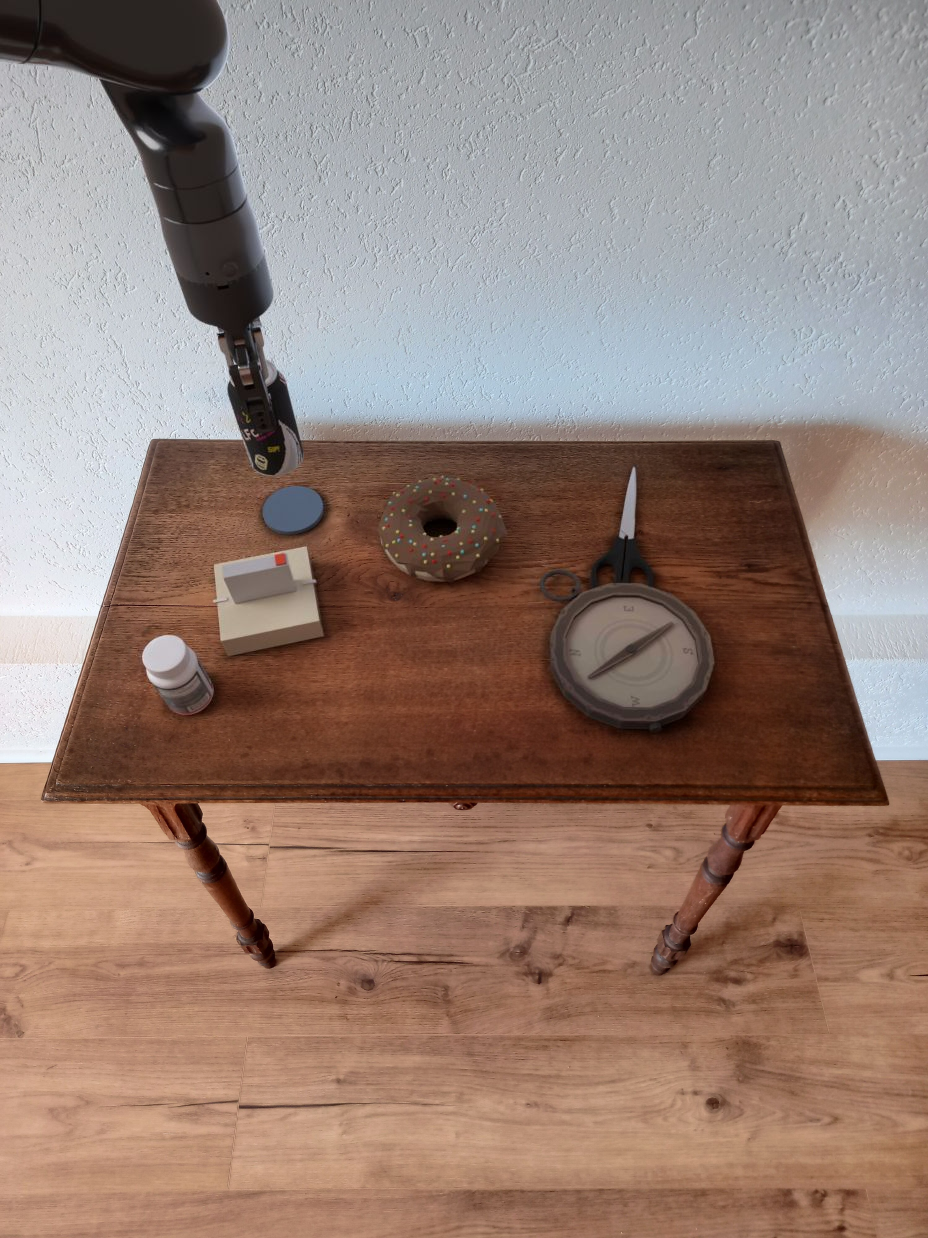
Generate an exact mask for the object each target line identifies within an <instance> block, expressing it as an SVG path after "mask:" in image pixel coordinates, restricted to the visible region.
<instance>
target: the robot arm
mask: <svg viewBox="0 0 928 1238" xmlns="http://www.w3.org/2000/svg"><path fill="white" fill-rule="evenodd" d="M230 43H231V41H230V32H229V26H228V21H227V17H226V15H225V13H224V10H223V8H222V6H221V4H220V2H219V0H0V62H4V63H5V62H6V63H11V64H16V65H26V66H37V67H39V66H40V67H50V68H58V69H62V70H67V71H71V72H74V73H79V74H81V75H86V76H88V77H92V78H95V79H98V80H99V82H100V84H101V86H102V88H103V90H104V91H105V94H106V96H107V98H108V100H109V101H110V103H111V105H112V107H113V109H114V111H115V112H116V115H117V116H118V119H119V120H120V122H121V123H122V125H123V127H124V128H125V130H126V131H127V133H128V135H129V136H130V138H131V140H132V141H133V144H134V146H135V147H136V150H137V152H138V154H139V157H140V161H141V164H142V167H143V171H144V174H145V177H146V180H147V183H148V186H149V189H150V192H151V195H152V198H153V200H154V201H153V202H154V205H155V206H156V209H157V213H158V217H159V221H160V227H161V231H162V236H163V240H164V243H165V246H166V249H167V251H168V255H169V257H170V260H171V264H172V266H173V269H174V272H175V275H176V278H177V281H178V283H179V286H180V289H181V292H182V295H183V298H184V301H185V304H186V308H187V309H188V312H189V313H190V314H191V316H192V317H193V318H195V319H196V320H197V321H199V322H201V323H202V324H205V325H208V326H212V327H216V328H217V330H218V332H216V338H217V342H218V345H219V350H220V352H221V353H222V354H223V355H224V358H225V361H226V365H227V369H228V374H229V375H230V376H231V380H232V382H233V383H234V386H235V389H236V392H237V394H238V397H239V400H240V403H241V409H242V412H244V414H245V415H249V417H250V420H251V423H252V426H253V429H254V432H255V433H256V434H263V433H269V432H274V431H275V430H276V429H277V427H276V421H275V418H274V414H273V411H272V404H271V401H270V399H271V395H270V394H269V393H268V389H267V384H266V379H267V378H268V376H269V370H268V365H267V361H266V359H267V358H266V353H265V349H264V346H265V338H264V333H263V329H262V327H263V324H262V319H261V317H262V315H264V314H265V313H266V312H267V311H268V310H269V309H270V307H271V305H272V303H273V301H274V295H275V293H274V287H273V283H272V278H271V275H270V271H269V266H268V262H267V258H266V254H265V250H264V245H263V241H262V237H261V233H260V228H259V225H258V221H257V217H256V214H255V212H254V209H253V206H252V204H251V202H250V199H249V196H248V192H247V187H246V184H245V181H244V177H243V172H242V169H241V163H240V161H239V156H238V155H239V154H238V151H237V148H236V144H235V140H234V138H233V137H234V136H233V133H232V131H231V130H230V128H229V125H228V124H227V123H226V121H225V119H223V117H222V116H221V115H220V113H218V112H217V111H216V110H215V109H214V108H212V107H211V106H210V105H209V104H208V103H207V102H206V101H205V100H204V98H203V97H202V96H201V94H200V92H202V91H204V90H206V89H208V88H209V87H210V86H211V85H213V84H214V82H215V81H216V80H217V79H218V78H219V77H220V76H221V74H222V72H223V71H224V68H225V66H226V64H227V61H228V57H229V53H230ZM259 359H260V363H261V366H260V365H258V362H259ZM229 375H228V376H229Z"/></svg>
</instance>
